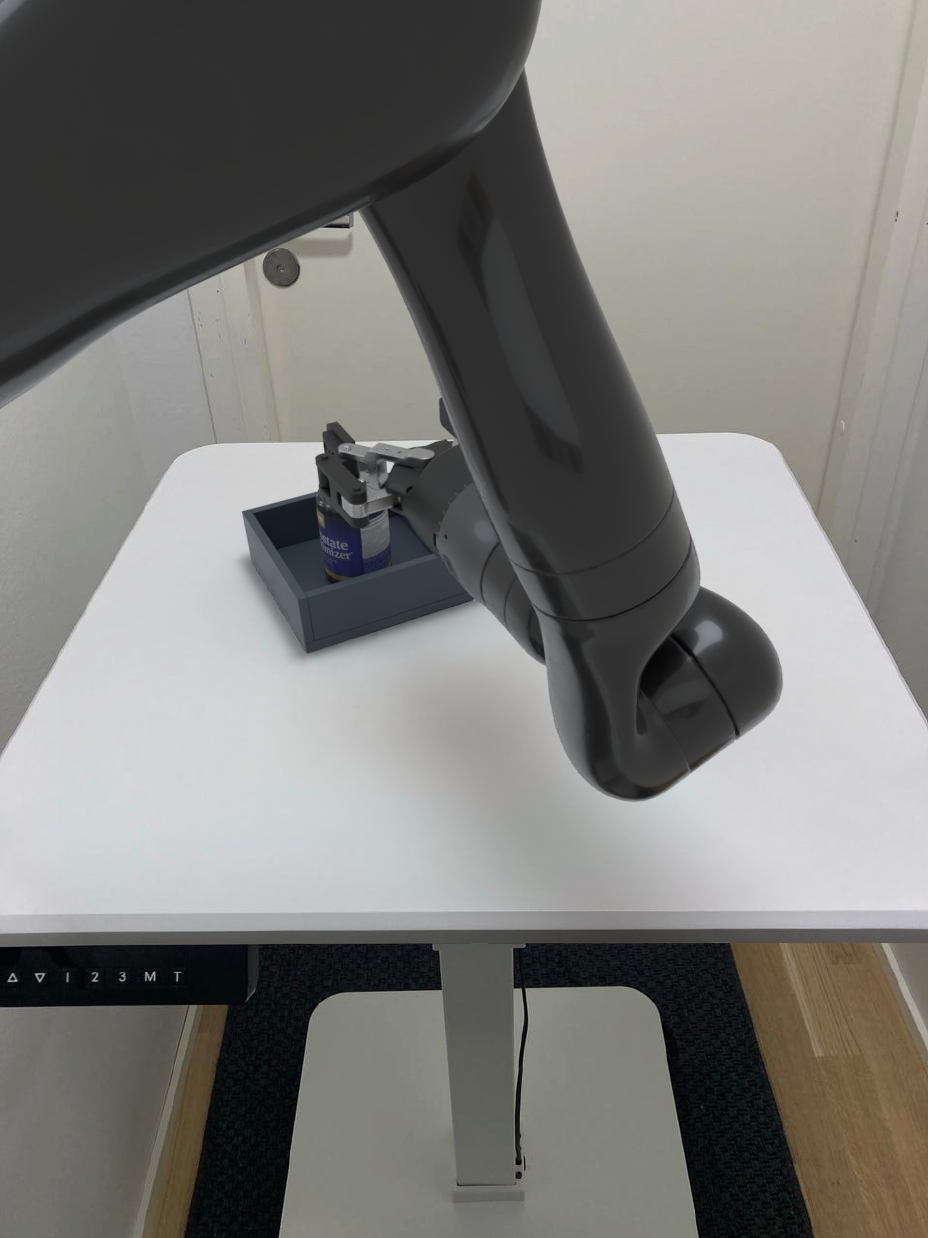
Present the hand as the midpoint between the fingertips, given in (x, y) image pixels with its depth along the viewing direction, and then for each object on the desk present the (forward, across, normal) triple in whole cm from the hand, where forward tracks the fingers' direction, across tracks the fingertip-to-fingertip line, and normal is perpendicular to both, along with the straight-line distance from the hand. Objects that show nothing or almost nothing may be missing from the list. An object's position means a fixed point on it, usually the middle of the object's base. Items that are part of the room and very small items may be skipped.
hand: (388, 421), depth 69 cm
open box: (+11, 0, +20) cm, 23 cm away
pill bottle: (+11, 0, +20) cm, 22 cm away
